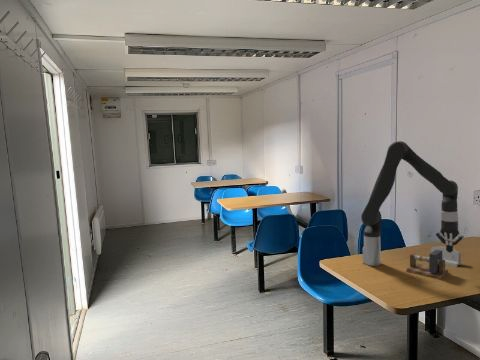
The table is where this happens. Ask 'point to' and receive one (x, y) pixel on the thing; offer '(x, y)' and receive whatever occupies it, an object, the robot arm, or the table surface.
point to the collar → (434, 261)
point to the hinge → (449, 256)
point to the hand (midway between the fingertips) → (449, 252)
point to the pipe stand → (426, 267)
